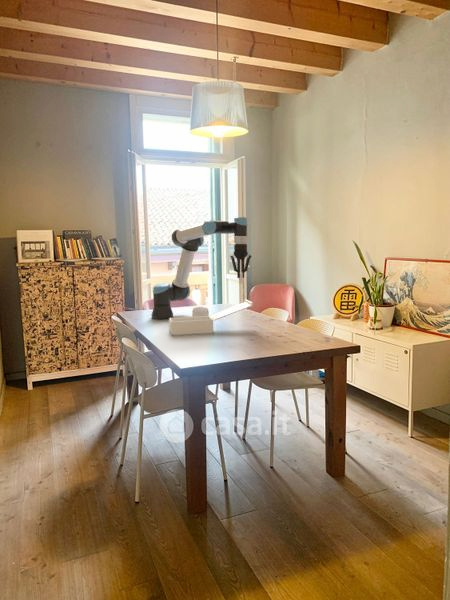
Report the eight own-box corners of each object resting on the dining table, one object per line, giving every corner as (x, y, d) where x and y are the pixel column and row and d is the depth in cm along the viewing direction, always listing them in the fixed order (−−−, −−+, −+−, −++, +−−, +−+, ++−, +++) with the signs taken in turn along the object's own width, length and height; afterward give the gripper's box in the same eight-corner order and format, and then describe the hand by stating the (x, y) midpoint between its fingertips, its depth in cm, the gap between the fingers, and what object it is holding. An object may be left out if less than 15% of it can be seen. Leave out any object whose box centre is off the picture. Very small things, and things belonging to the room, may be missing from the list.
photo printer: (209, 325, 280) (208, 306, 278) (208, 327, 276) (208, 307, 274) (193, 325, 281) (192, 306, 279) (192, 327, 277) (191, 307, 275)
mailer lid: (245, 299, 274) (246, 302, 274) (208, 313, 269) (209, 316, 270) (252, 302, 261) (253, 305, 261) (213, 317, 256) (214, 320, 257)
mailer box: (169, 331, 265) (169, 318, 264) (208, 328, 270) (208, 315, 269) (172, 335, 252) (171, 322, 251) (213, 333, 258) (213, 319, 257)
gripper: (231, 243, 256) (231, 284, 259) (253, 243, 259) (253, 283, 262) (228, 243, 263) (228, 283, 267) (249, 243, 266) (249, 282, 270)
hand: (240, 283), depth 265 cm, fingers closed
